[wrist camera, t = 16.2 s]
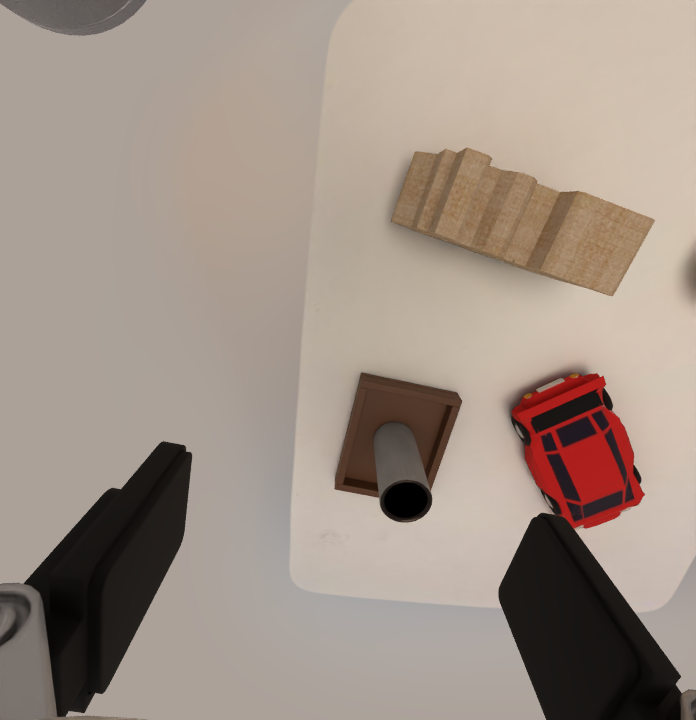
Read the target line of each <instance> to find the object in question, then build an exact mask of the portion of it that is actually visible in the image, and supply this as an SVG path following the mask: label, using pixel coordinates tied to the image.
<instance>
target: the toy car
mask: <svg viewBox="0 0 696 720" xmlns="http://www.w3.org/2000/svg"><path fill="white" fill-rule="evenodd" d="M605 385H606V383H605V379H604V376H602V377H599V375H598V374H597V373H596V374H588V375H585V376H581V375H579V374H577V373H574V374H571V375H570V376H568V377H566V378H564V379H562V378H560V379H558V380H555V381H553V382H551V383H549V384H547V385H544V386H542V387H540V388H538V389H536V391H535V392H533V393H531V394H530V393H528V394H525V395H524V397H523V398H522V400H521V403H520V405H518V406H516V407H515V408H514V409H513V410H512V411H511V412H512V414H513V416H512V417H511V420H512V423H513V426H514V428H515V430H516V432H517V433H518V435H519V437H520V438H521V440H522V441H523V442H524V443H525V460H526V462H527V464H528V467H529V469H530V471H531V473H532V475H533V478H534V480H535V482H536V484H537V486H538V487H540V488H541V492H542V494H543V496H544V498H545V500H546V502H547V503H548V505H549V507H550V508H551V510H552V511H553V512H554V513H555V514H556V515H557V516H562V517H564V518H566V519H567V520H568V522H569V523H570V524H571V526H572V527H573V529H574V530H577V529H580V528H582V527H583V528H590V527H593V526H597V525H599V524H602V523H605V522H607V521H610V520H612V519H615V518H617V517H618V516H619V515H620V514H621V512H624V511H627V510H629V509H630V508H631V507H633V506H637V505H638V504H639V503H640V502H641V500H642V497H643V496H644V495H645V494H644V493H643V492H642V489H641V487H640V483H641V476H640V474H639V472H638V470H637V469H636V467H635V466H634V465H633V463H634V453H633V450H632V447H631V444H630V441H629V438H628V435H627V432H626V429H625V427H624V426H623V424H622V423H621V421H620V418H619V417H617V416H616V415H615V414H614V412H613V411H612V408H613V404H612V401H611V398H610V396H609V395H608V393H607V392H606V390H605V389H604V386H605Z"/></svg>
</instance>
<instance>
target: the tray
mask: <svg viewBox="0 0 696 720" xmlns="http://www.w3.org/2000/svg"><path fill="white" fill-rule="evenodd" d="M461 403H462V400H461V398H460V397H459V395H458V393H456V392H451V391H446V390H442V389H437V388H432V387H427V386H422V385H418V384H413V383H408V382H403V381H398V380H394V379H389V378H384V377H379V376H374V375H370V374H365V373H361V377H360V381H359V385H358V389H357V393H356V397H355V401H354V405H353V409H352V413H351V417H350V421H349V425H348V429H347V433H346V437H345V441H344V445H343V449H342V453H341V457H340V461H339V465H338V469H337V473H336V477H335V489H336V490H341V491H346V492H352V493H357V494H362V495H368V496H373V497H378V498H379V491H378V482H377V472H376V463H375V453H374V435H375V432H376V431H377V430H378V428H379V427H381V426H382V425H384V424H386V423H389V422H400V423H403V424H405V425H407V426H408V427H409V428H410V429H411V431H412V432H413V435H414V438H415V441H416V444H417V448H418V451H419V454H420V458H421V461H422V464H423V468H424V471H425V474H426V478H427V481H428V484H429V488H430V491H431V488H432V486H433V483H434V480H435V477H436V474H437V471H438V469H439V466H440V463H441V460H442V457H443V454H444V452H445V449H446V446H447V443H448V440H449V437H450V435H451V432H452V429H453V426H454V423H455V420H456V418H457V415H458V412H459V409H460V406H461Z"/></svg>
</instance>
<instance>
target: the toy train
mask: <svg viewBox="0 0 696 720" xmlns="http://www.w3.org/2000/svg"><path fill="white" fill-rule="evenodd" d="M491 160H492V158H491V157H490V156H489V155H486V154H483V153H481V152H478V151H475V150H472V149H470V148H466V149H464V150H462V151H460V152H458V153H456V152H453V151H450V150H448V149H445V150H443V151H442V152H440V153H439V154H432V153H424V152H415V153H414V156H413V159H412V161H411V164H410V167H409V170H408V173H407V176H406V179H405V182H404V185H403V187H402V190H401V193H400V196H399V199H398V202H397V205H396V208H395V211H394V214H393V216H392V219H391V222H394V223H397V224H399V225H402V226H405V227H408V228H411V229H412V230H414V231H417V232H420V233H423V234H425V235H428V236H431V237H434V238H438V239H441V240H445V241H448V242H450V243H453V244H456V245H459V246H460V247H463V248H465V249H468V250H471V251H474V252H477V253H480V254H483V255H486V256H489V257H492V258H495V259H498V260H501V261H503V262H505V263H508V264H511V265H513V266H516V267H519V268H522V269H525V270H528V271H531V272H534V273H537V274H540V275H543V276H547V277H550V278H553V279H556V280H559V281H563V282H567V283H570V284H574V285H577V286H581V287H584V288H588V289H591V290H594V291H597V292H600V293H603V294H606V295H610V296H613V295H614V293H615V291H616V290H617V288H618V286H619V284H620V282H621V281H622V279H623V277H624V275H625V273H626V272H627V270H628V268H629V266H630V264H631V263H632V261H633V259H634V257H635V255H636V254H637V252H638V250H639V248H640V247H641V245H642V243H643V241H644V239H645V238H646V236H647V234H648V232H649V230H650V229H651V227H652V225H653V223H654V219H652V218H649V217H647V216H644V215H642V214H639V213H636V212H634V211H631V210H629V209H626V208H623V207H621V206H618V205H616V204H613V203H610V202H608V201H605V200H603V199H600V198H597V197H595V196H592V195H590V194H587V193H584V192H579V191H575V192H558V191H555V190H553V189H550V188H547V187H545V186H542V185H540V184H537V180H536V179H535V178H534V177H531V176H529V175H526V174H522V173H519V172H512V171H504V170H500V169H497V168H494V167H491V166H489V165H490V163H491Z"/></svg>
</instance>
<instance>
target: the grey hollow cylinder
mask: <svg viewBox="0 0 696 720" xmlns="http://www.w3.org/2000/svg"><path fill="white" fill-rule="evenodd" d="M374 453H375V463H376V472H377V482H378V491H379V500H380V507H381V509H382V511H383V513H384V514H385V515H386V516H387V517H389V518H390V519H392V520H394V521H397V522H413V521H416V520H418V519H420V518H422V517H423V516H424V515H426V514H427V512H428V511H429V509H430V508H431V505H432V495H431V491H430V488H429V484H428V481H427V478H426V474H425V471H424V468H423V464H422V461H421V458H420V454H419V451H418V448H417V444H416V441H415V438H414V435H413V432H412V431H411V429H410V428H409V427H408V426H407V425H405V424H403V423H400V422H389V423H386V424H384V425H382V426H381V427H379V428H378V430H377V431H376V432H375V435H374Z"/></svg>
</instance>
